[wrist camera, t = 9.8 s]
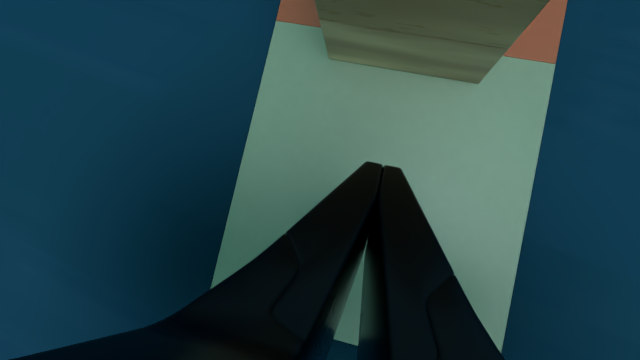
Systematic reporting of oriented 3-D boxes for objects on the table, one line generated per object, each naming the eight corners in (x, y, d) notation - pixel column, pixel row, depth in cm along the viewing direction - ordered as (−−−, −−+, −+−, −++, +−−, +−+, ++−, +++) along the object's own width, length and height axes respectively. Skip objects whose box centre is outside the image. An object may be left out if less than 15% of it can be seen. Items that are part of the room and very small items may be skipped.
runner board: (492, 381, 15) (495, 385, 15) (210, 301, 17) (206, 303, 17) (551, 67, 16) (556, 63, 16) (277, 24, 18) (275, 20, 18)
